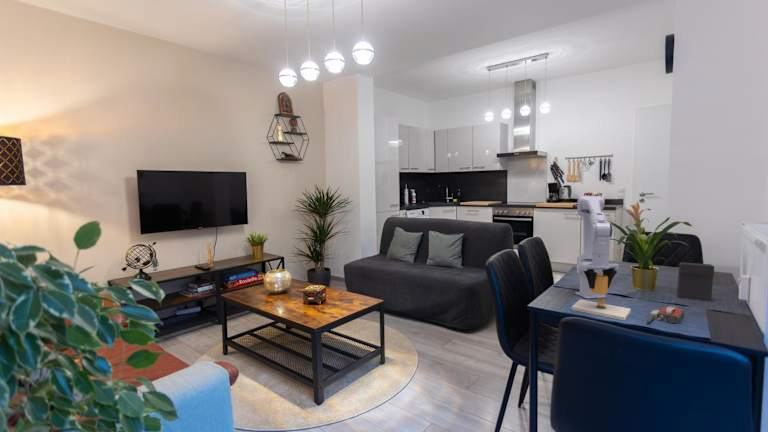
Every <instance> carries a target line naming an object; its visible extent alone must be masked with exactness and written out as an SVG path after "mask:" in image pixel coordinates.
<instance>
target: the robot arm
mask: <svg viewBox="0 0 768 432" xmlns="http://www.w3.org/2000/svg"><path fill="white" fill-rule="evenodd" d="M576 203H577V205H576V206H577V215H578V216H580V217H581V218H582V225H583V226H582V227H583V231H582V232H583V233H582V234H583V253H581V254H580V255H578V257H577V258H576V267H575V268H576V273H577V274H578V275H579V291H575V292H574V294H575V295H578V296H580V297H583V299H598V298H603V299H604V298H607V296H606V294H597V293H593V292H591V291H590V288H591V289H594V288H595V280H596V276H597V274H603V275H607V276H608V289H610V286H611V284H612V281H613V279H614V278H615V276H616V274H618V273H617V272H618V271H617V270H619V268H620V264H618V263H610V248H611V246H610V245H611V242H610V241H611V238H612V237H613V231H614V230H613V223H612V222H610V221H608V219H607V215H606V214H605V213H604V212H603V211H604V208H605V198H604V196H603V195H579V196H578V197H577V202H576Z"/></svg>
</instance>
